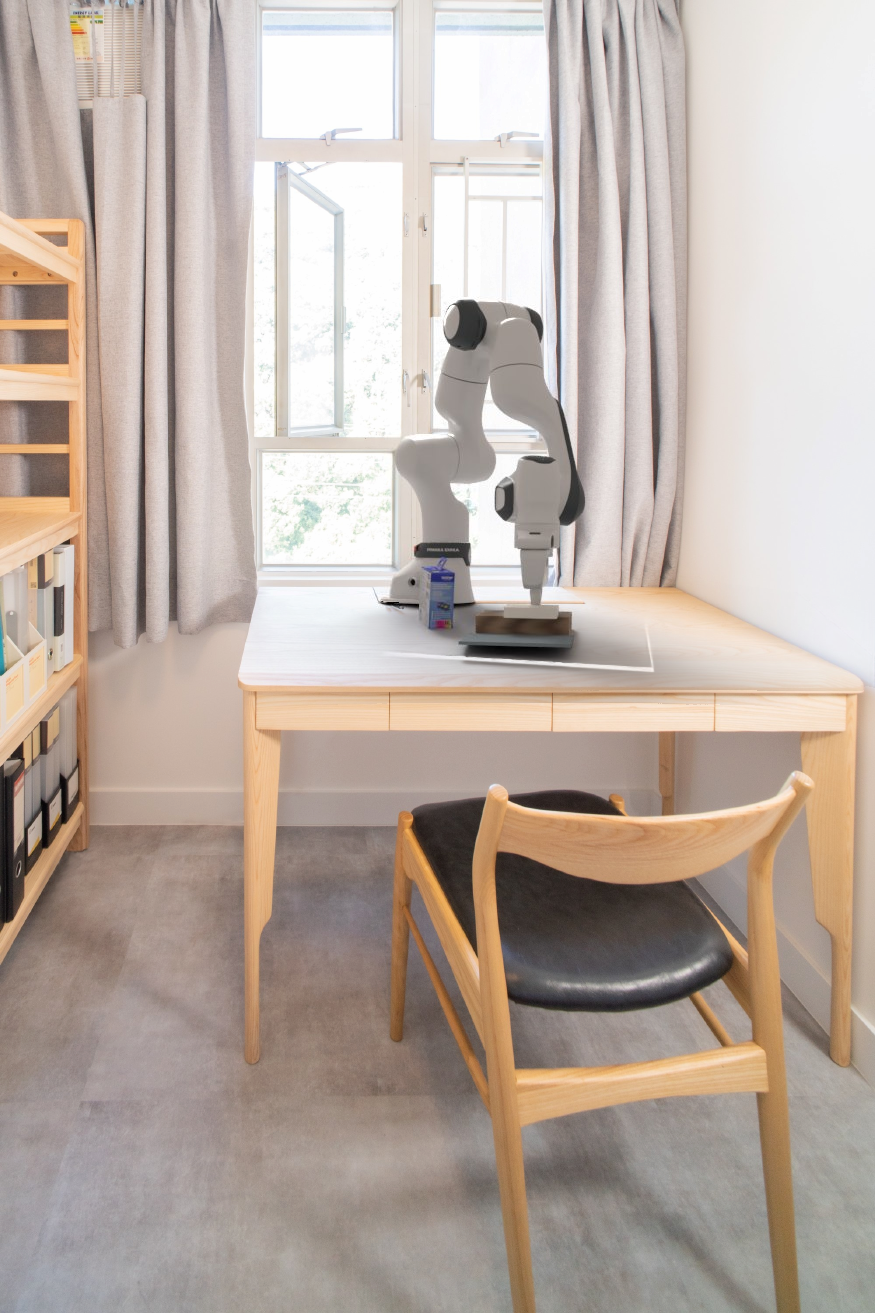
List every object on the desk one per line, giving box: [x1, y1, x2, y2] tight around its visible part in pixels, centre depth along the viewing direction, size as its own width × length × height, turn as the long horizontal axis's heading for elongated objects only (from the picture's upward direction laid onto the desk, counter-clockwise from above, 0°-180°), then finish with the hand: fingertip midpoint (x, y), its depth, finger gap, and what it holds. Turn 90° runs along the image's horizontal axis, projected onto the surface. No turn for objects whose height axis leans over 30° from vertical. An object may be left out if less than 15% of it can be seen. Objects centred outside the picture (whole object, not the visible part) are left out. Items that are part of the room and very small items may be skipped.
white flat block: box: [503, 603, 560, 619], centre depth 182 cm, size 10×7×2 cm
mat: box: [457, 632, 575, 648], centre depth 175 cm, size 20×15×1 cm
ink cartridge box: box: [418, 557, 455, 630], centre depth 196 cm, size 10×6×14 cm, turn 14°
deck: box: [474, 609, 573, 635], centre depth 189 cm, size 18×14×4 cm
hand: (535, 610), depth 187 cm, fingers closed
